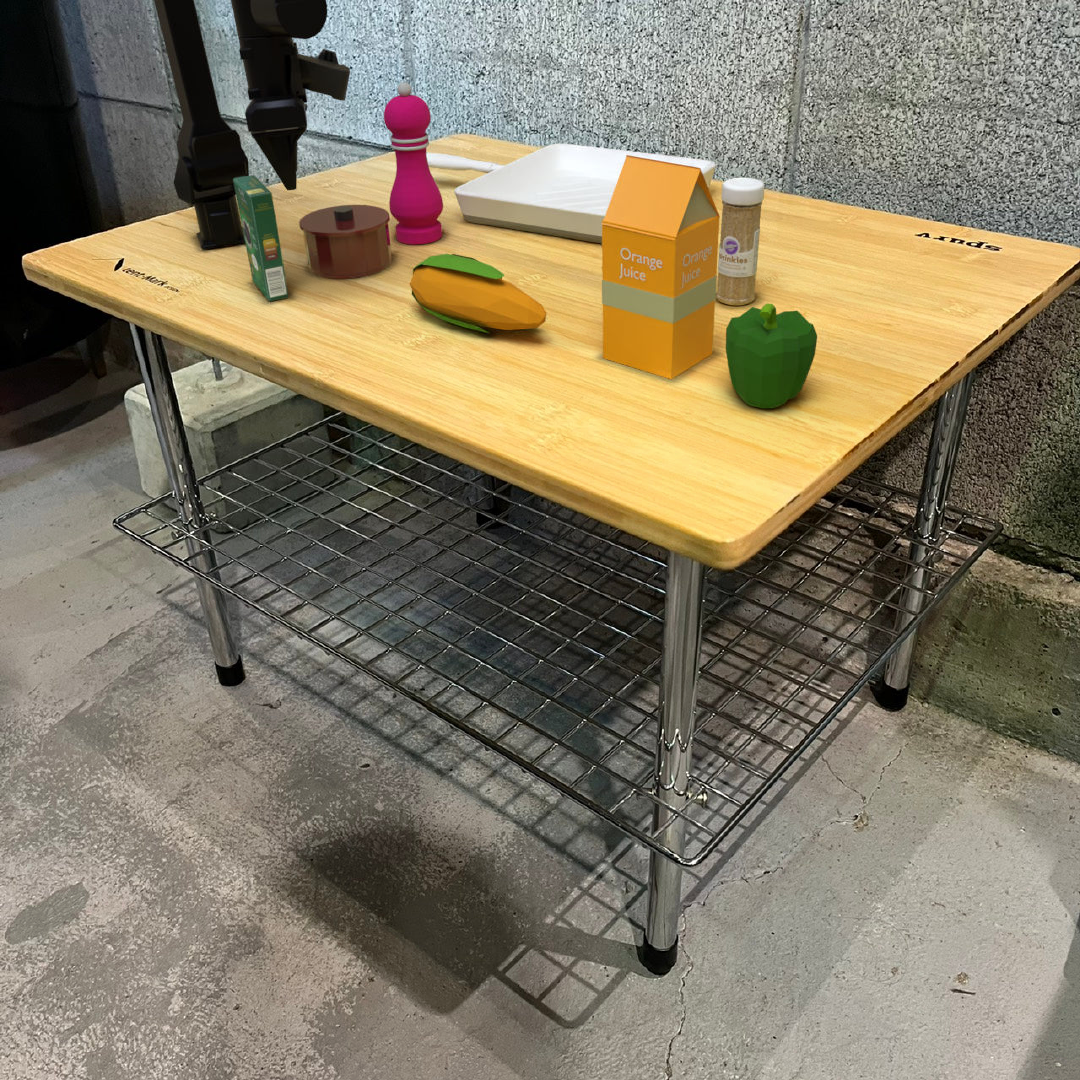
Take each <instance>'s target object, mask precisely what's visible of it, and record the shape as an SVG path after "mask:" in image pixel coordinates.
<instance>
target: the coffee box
mask: <svg viewBox="0 0 1080 1080" xmlns="http://www.w3.org/2000/svg"><path fill="white" fill-rule="evenodd" d="M233 183H234V188H235V193H236V199H237V204H238V210H239V215H240V220H241V225H242V228H243V233H244V238H245V243H244V244H245V248H246V249H245V250H246V254H247V258H248V263H249V264H248V265H249V268H250V274H251V280H252V282H253V284H254V285H255V286H256V288H258V290H259V291H260V292H261V294H262V295H263V296H264V297H265V299H266V300H267V301H268V302H273V301H280V300H285V299H288V298H289V297H290V296H289V295H290V294H289V289H288V284H287V276H286V271H285V266H284V259H283V253H282V248H281V247H282V246H281V241H280V236H279V235H280V234H279V229H278V224H277V217H276V211H275V204H274V197H273V193H272V191H271V190H270V189H268V188H267V187H266V185H265V184H263V182H261V180H260V179H259V178H258V177H256V176H255V175H253V174H252V175H249V176H244V177H238V178H234V179H233Z"/></svg>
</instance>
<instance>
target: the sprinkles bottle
mask: <svg viewBox="0 0 1080 1080" xmlns="http://www.w3.org/2000/svg"><path fill="white" fill-rule="evenodd" d="M764 198H765V183H764V182H763V181H762V180H760V179H757V178H753V177H733V178H728V179H727V180H725V181H724V182H723V183H722V186H721V197H720V199H721V203H722V210H721V211H722V212H721V223H720V224H721V225H720V239H719V240H720V241H719V244H718V260H717V272H718V274H717V290H716V300H717V301H718V302H720V303H722V304H725V305H730V306H744V305H748V304H751V303H752V302H753V301H755V298H756V292H755V290H756V278H757V271H758V261H759V259H758V258H759V247H760V246H759V245H760V235H761V234H760V233H761V226H760V225H761V217H762V216H761V215H762V214H761V213H762V205H763V201H764Z"/></svg>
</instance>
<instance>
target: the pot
mask: <svg viewBox="0 0 1080 1080" xmlns="http://www.w3.org/2000/svg"><path fill="white" fill-rule="evenodd" d="M302 235H303V240H304V247H305V252H306V258H307V264H308V265H309V266H308V268H309V270H310V272H311V273H312V274H313V275H315V276H318V277H321V278H324V279H326V278H327V279H332V280H333V279H334V280H346V279H357V278H362V277H363V278H364V277H367V276H371V275H375V274H377V273H380V272H382V271H385V270H386V269H387V268H389V267H390V266H391V264H392V261H393V259H392V257H393V254H392V245H391V237H390V230H389V222H388V223H387V224H386V225H385V226H383V227H381V228H379V229H377V230H374V231H371V232H367V233H363V234H359V235H352V236H343V237H323V236H315V235H311V234H307V233H305V232H303V231H302Z"/></svg>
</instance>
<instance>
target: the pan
mask: <svg viewBox="0 0 1080 1080" xmlns="http://www.w3.org/2000/svg"><path fill="white" fill-rule="evenodd" d="M626 155H629V156H635V157H641V158H646V159H652V160H658V161H663V162H669V163H675V164H680V165H686V166H692V167H697V168H700V169H701V171H702V174H703V176H704V179H705V181H706V184H707V186H708V189H709V190H710V186H711V182H712V180H713V177H714V174H715V170H716V167H717V164H716V162H715V161H712V160H708V159H703V158H693V157H684V156H675V155H668V154H667V155H666V154H660V153H659V154H658V153H650V152H639V151H632V150H625V149H615V148H607V147H599V146H589V145H582V144H573V143H572V144H571V143H563V142H562V143H552V144H548V145H545V146H544V147H541V148H539V149H537V150H534V151H533V152H531V153H528V154H526V155H524V156H522V157H520V158H517V159H516V160H513V161H511V162H509V163H507V164H500V163H498V162H493V161H484V160H477V159H471V158H468V157H463V156H461V155H455V154H448V153H447V154H446V153H438V152H428V151H426V156H427V162H428V166H429V168H431V169H440V170H445V171H456V172H457V171H459V172H462V171H464V172H465V171H474V172H478V173H485V174H482V175H481V176H479V177H476V178H473V179H472V180H469V181H468V182H465V183H463V184H460V185H459V186H457V187H456V188H454V191H453V192H454V195H455V198H456V200H457V203H458V206H459V209H460V212H461V214H462V216H463V218H464V220H465V221H466V222H468V223H471V224H472V223H473V224H479V225H483V226H484V225H485V226H491V227H495V228H496V227H497V228H503V229H508V230H509V229H510V230H516V231H522V232H528V233H535V234H541V235H546V236H552V237H553V236H554V237H559V238H565V239H570V240H577V241H583V242H590V243H594V244H601V245H602V221H603V220H604V218H605V215H606V212H607V209H608V206H609V204H610V201H611V198H612V195H613V192H614V190H615V187H616V184H617V181H618V178H619V176H620V173H621V170H622V167H623V164H624V162H625V159H626Z"/></svg>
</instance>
